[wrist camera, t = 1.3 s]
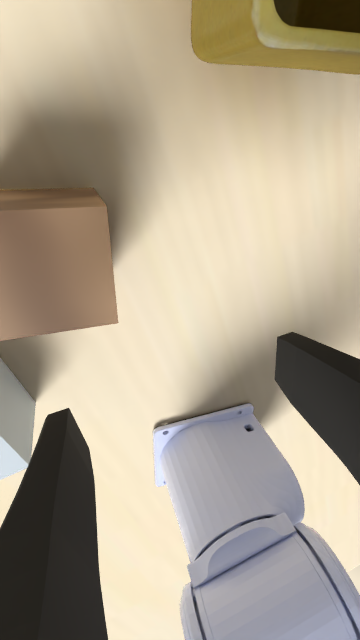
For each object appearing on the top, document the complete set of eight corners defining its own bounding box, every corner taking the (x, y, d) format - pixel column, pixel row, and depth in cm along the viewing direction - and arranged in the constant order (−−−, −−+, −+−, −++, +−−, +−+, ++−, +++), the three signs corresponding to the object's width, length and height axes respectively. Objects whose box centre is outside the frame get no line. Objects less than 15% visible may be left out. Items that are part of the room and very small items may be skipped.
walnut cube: (93, 187, 15) (106, 206, 11) (104, 279, 18) (118, 323, 14) (-19, 190, 14) (-53, 212, 10) (10, 289, 16) (-7, 341, 12)
